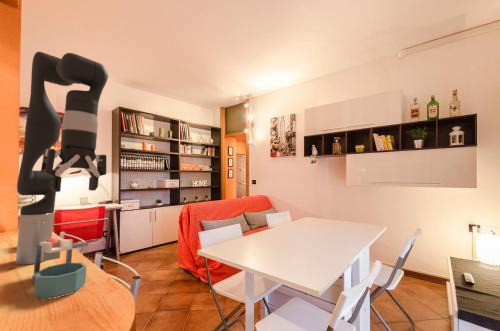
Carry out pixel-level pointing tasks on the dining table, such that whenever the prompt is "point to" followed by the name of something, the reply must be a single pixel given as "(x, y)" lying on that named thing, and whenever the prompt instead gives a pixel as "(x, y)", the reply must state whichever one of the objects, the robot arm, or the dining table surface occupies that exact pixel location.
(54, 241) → the ball
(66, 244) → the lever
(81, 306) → the dining table surface
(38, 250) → the lever stand
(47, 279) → the teal octagonal bowl
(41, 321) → the dining table surface
